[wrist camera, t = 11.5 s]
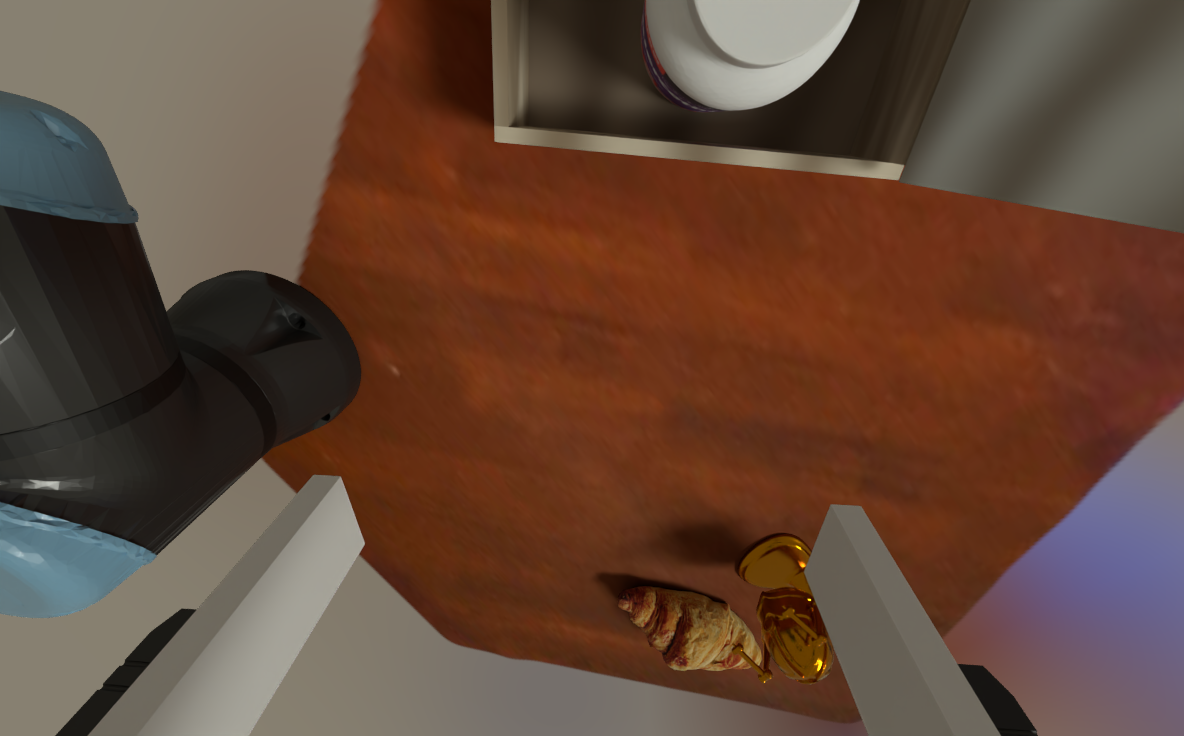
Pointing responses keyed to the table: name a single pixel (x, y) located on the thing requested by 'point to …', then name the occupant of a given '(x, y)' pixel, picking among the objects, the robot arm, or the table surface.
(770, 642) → the figurine
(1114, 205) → the grey wooden hinged box
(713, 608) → the croissant
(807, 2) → the pill bottle
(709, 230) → the table surface
